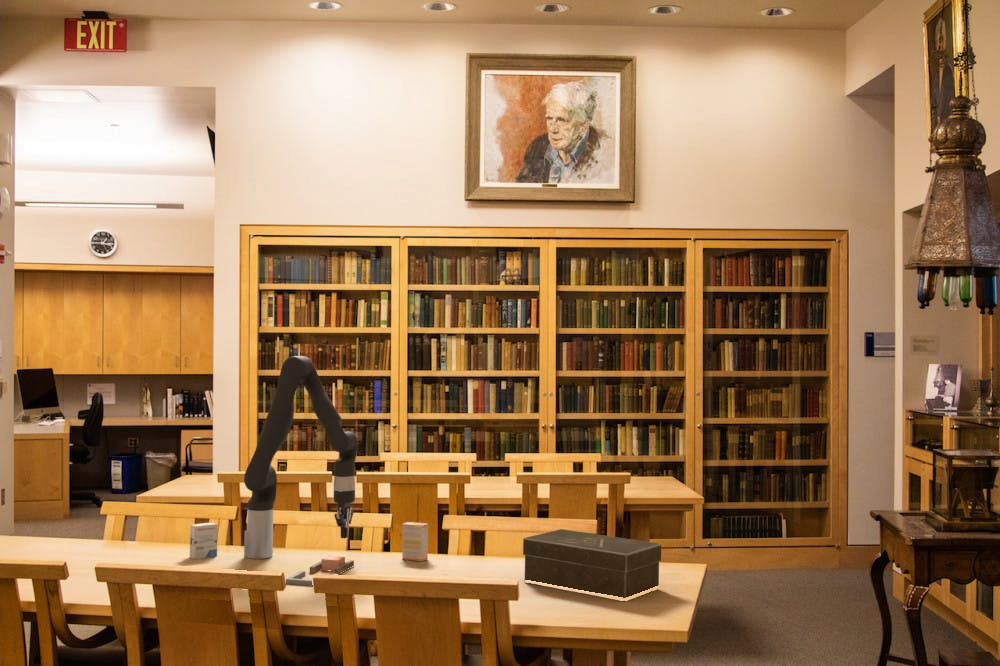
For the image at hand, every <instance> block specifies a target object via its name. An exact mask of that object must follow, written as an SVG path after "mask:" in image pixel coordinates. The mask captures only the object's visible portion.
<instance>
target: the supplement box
mask: <svg viewBox="0 0 1000 666" xmlns="http://www.w3.org/2000/svg"><path fill="white" fill-rule="evenodd" d="M428 531H429V523H427V522H426V523H424V522H414V521H407V522H403V523H402V550H401V551H402V557H401V558H402V560H406V561H415V562H425V561H426V560H428V557H429V554H428V551H429V550H428V546H429V545H428V544H429V542H428V539H429V538H428V537H429V535H428V534H429V533H428Z"/></svg>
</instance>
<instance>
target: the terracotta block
mask: <svg viewBox="0 0 1000 666" xmlns="http://www.w3.org/2000/svg"><path fill="white" fill-rule="evenodd" d="M321 561H322V564H321V570H320V571H324V570H331V571H330V572H334V569H335V568H337V567H339V566H340V565H342V564H344V563H346V556H337V555H328V556H326V557H323V558H321Z"/></svg>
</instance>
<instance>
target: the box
mask: <svg viewBox="0 0 1000 666" xmlns="http://www.w3.org/2000/svg"><path fill="white" fill-rule="evenodd" d="M522 556H524V581H525V580H531V581H536V582H542V583H547V584H552V585H557V586H563V587H568V588H573V589H578V590H584V591H589V592H595V593H601V594H607V595H613V596H618V597H623V598H626V597H629V596H632V595H634V594H637V593H640V592H642V591H645V590H648V589H650V588H653V587H655V586H658V585H659V586H660V576H659V575H660V562H662V544H661V543H658V542H651V541H644V540H638V539H631V538H625V537H617V536H609V535H603V534H597V533H596V534H595V533H591V532H590V533H589V532H582V531H577V530H576V531H575V530H570V529H562V528H561V529H556V530H552V531H548V532H543V533H540V534H536V535H531V536H526V537H523V539H522Z"/></svg>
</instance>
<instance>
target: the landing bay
mask: <svg viewBox="0 0 1000 666" xmlns="http://www.w3.org/2000/svg"><path fill="white" fill-rule="evenodd" d="M332 574H338V573H334V572H332ZM305 576H306V571H305V570H300V571H298V572H296V573H294V574H292V575H290V576H288V577H286V578H285V579H286V583H287V584H286V585H295V586H296V585H298V586H310V587H311V586H312V580H313V579H306V578H303V577H305ZM312 587H313V586H312Z"/></svg>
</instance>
